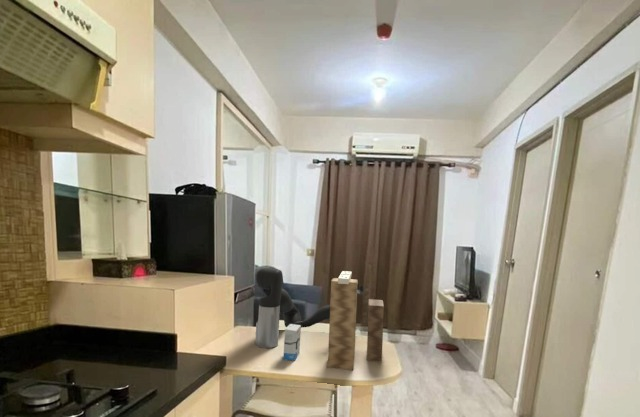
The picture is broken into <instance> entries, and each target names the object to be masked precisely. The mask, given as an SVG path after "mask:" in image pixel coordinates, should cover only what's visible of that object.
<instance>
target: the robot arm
mask: <svg viewBox="0 0 640 417" xmlns="http://www.w3.org/2000/svg"><path fill="white" fill-rule="evenodd" d="M283 278H284V275H283V271H282V270H281V269H278V268H267V267H264V268H261V269H259V270H258V271H257V273H256V275H255V280H256V284H257V287H258V288H259V290H261V292H262V293H263V294H264V295H266V296H263V297H260V298H259V301H258V319H257V321H256V324H255V338H254V341H255V342H254V345H256V346H258V347H259V348H263V349H271V348H272V349H273V348H275V347H277V346H279V334H280V333H279V330H280V314H282V315H283V321H284V327H285V328H286V327H287V326H289V325H290V324H295V325H301V328H310V327H311V326H314V325H316V324H318V323H320V322H323V321H327V320H330V304H326V305H324V306H321V307H319V308H318V309H317V310H316V311H315V312H314V313H313V314H312V315H311V316H309V317H308V318H307V319H302V315H301V312H300V310H299V309H298V308H297V307H296V306H295V304H294V301H293V300H292V298H291V296H290V293H288V291H287V290H286V289H284V288H283V283H284V282H283V280H284V279H283ZM357 294H359V296H363V295H364V285H360V283H359V282H357ZM358 312H359V310H358V306H357V307H356V315H357V314H358Z"/></svg>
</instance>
